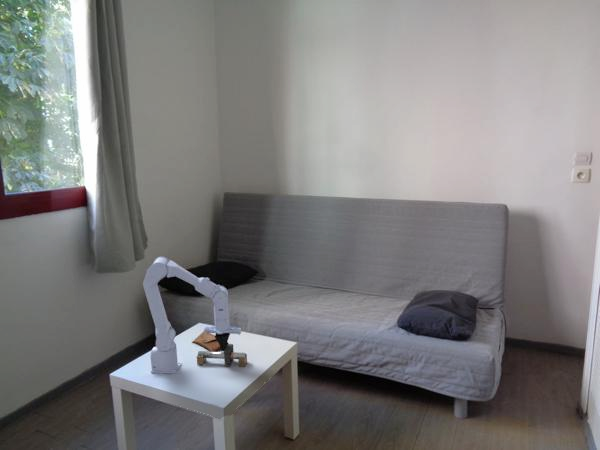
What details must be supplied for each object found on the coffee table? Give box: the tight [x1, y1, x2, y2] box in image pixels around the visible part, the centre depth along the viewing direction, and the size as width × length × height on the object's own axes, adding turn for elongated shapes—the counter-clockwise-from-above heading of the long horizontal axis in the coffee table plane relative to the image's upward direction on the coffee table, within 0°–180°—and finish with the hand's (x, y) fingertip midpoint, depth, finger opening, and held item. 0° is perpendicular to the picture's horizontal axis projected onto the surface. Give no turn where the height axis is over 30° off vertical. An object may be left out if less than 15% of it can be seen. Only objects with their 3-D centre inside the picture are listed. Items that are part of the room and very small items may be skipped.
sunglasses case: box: [191, 331, 230, 352], centre depth 198 cm, size 18×7×7 cm, turn 46°
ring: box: [223, 343, 235, 367], centre depth 179 cm, size 2×6×6 cm, turn 172°
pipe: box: [196, 350, 248, 368], centre depth 180 cm, size 19×4×5 cm, turn 82°
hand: (223, 350), depth 179 cm, fingers closed
